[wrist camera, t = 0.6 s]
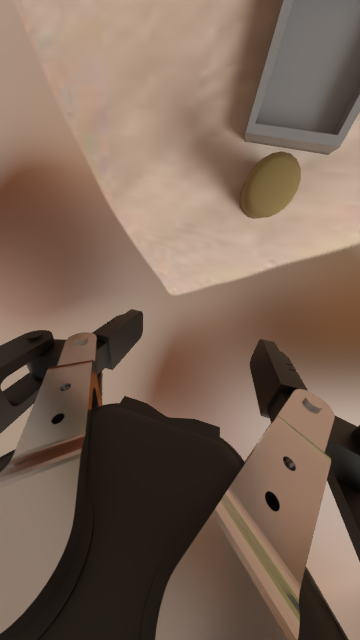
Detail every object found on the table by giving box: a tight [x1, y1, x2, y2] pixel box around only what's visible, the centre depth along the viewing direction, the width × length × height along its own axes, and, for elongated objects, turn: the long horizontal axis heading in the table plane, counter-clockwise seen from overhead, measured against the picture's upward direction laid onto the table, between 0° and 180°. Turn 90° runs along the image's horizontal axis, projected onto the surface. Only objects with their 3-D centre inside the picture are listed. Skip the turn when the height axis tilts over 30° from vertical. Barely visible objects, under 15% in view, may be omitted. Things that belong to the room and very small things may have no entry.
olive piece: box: [240, 152, 300, 218], centre depth 19 cm, size 6×6×11 cm
